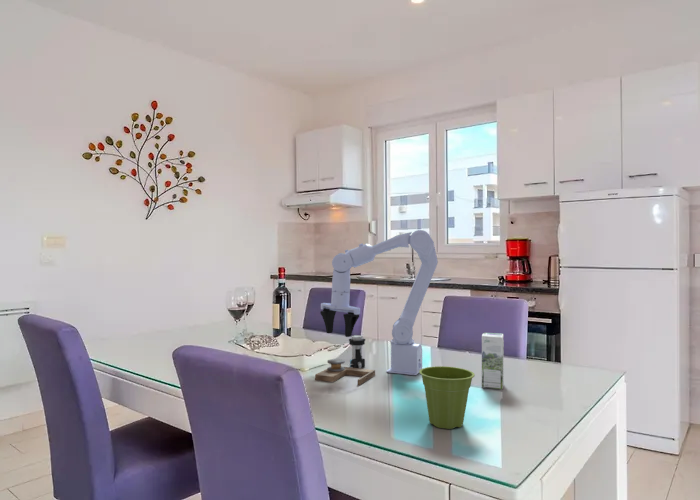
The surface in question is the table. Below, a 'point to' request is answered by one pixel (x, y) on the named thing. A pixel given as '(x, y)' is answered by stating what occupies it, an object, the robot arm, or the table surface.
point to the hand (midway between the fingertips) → (338, 334)
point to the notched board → (343, 372)
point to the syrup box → (492, 360)
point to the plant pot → (446, 394)
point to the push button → (357, 351)
